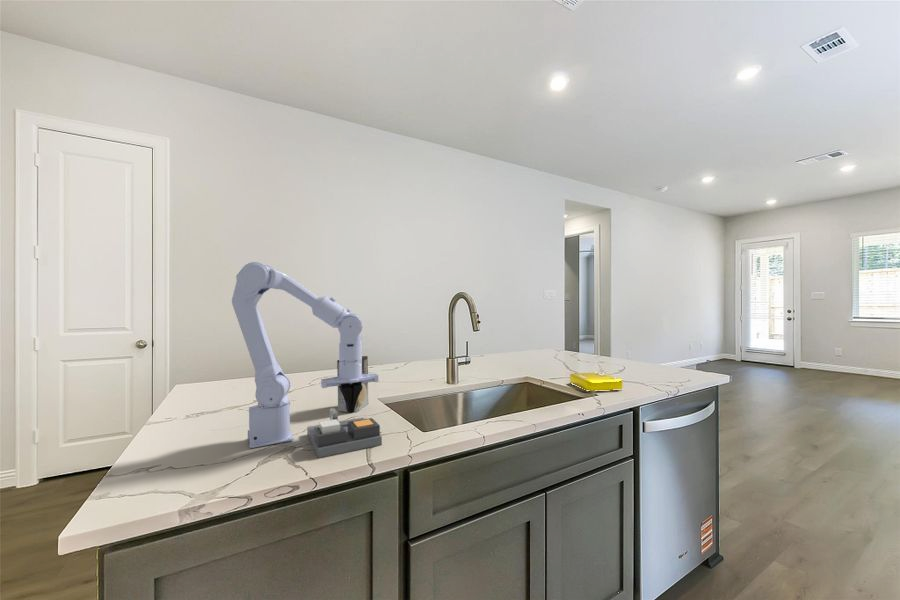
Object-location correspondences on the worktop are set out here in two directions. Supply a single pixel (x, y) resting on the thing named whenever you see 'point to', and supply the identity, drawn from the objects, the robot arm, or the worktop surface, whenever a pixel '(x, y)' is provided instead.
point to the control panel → (345, 438)
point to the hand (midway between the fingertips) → (350, 411)
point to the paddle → (333, 414)
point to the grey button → (329, 426)
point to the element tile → (596, 381)
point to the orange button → (362, 423)
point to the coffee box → (363, 394)
